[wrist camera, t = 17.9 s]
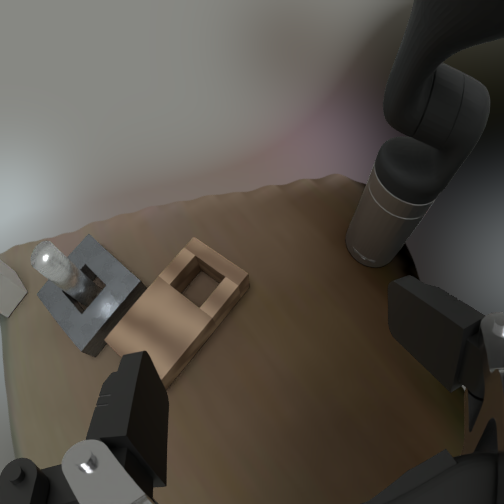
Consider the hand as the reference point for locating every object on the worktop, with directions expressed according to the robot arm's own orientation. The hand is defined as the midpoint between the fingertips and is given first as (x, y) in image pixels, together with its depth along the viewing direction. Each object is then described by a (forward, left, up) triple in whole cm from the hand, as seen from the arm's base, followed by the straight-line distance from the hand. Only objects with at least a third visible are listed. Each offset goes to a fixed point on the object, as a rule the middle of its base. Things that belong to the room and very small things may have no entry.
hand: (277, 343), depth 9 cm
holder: (+6, -30, -35) cm, 46 cm away
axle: (+6, -30, -35) cm, 46 cm away
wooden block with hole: (-1, -16, -35) cm, 38 cm away
